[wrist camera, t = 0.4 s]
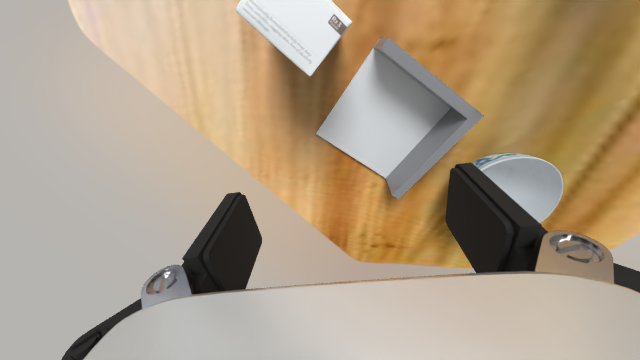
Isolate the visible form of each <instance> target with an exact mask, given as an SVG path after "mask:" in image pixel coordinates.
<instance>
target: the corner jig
mask: <svg viewBox="0 0 640 360" xmlns="http://www.w3.org/2000/svg"><path fill="white" fill-rule="evenodd" d="M483 116H484V115H482V114H481V113H480V112H479V111H477V110H476V109H475V108H474V107H473V106H471V105H470V104H469V103H468V102H466V101H465V100H464V99H463V98H462V97H460V96H459V95H458V94H457V93H455V92H454V91H453V90H452V89H451V88H449V87H448V86H447V85H446V84H444V83H443V82H442V81H441V80H439V79H438V78H437V77H436V76H435V75H433V74H432V73H431V72H430V71H428V70H427V69H426V68H425V67H424V66H422V65H421V64H420V63H419V62H417V61H416V60H415V59H414V58H413V57H411V56H410V55H409V54H408V53H406V52H405V51H404V50H403V49H402V48H400V47H399V46H398V45H397V44H395V43H394V42H393V41H392V40H391V39H389V38H379V40H378V41H377V43H376V44H375V46H374V47H373V49H372V50H371V52H370V53H369V55H368V56H367V58H366V59H365V61H364V62H363V64H362V65H361V67H360V68H359V70H358V71H357V73H356V74H355V76H354V77H353V79H352V80H351V82H350V83H349V85H348V86H347V88H346V89H345V91H344V92H343V94H342V95H341V97H340V98H339V100H338V101H337V102H336V104H335V105H334V107H333V108H332V110H331V111H330V113H329V114H328V116H327V117H326V119H325V120H324V122H323V123H322V125H321V126H320V128H319V129H318V131H317V132H316V134H317V135H319V136H320V137H322V138H323V139H325V140H326V141H328V142H330V143H331V144H333V145H334V146H336V147H337V148H339V149H341V150H342V151H344V152H345V153H347V154H348V155H350V156H351V157H353V158H355V159H356V160H358V161H359V162H361V163H362V164H364V165H366V166H367V167H369V168H370V169H372V170H373V171H375V172H377V173H378V174H380V175H381V176H383V177H384V178H386V181H387V183H388V186H389V189H390V191H391V194H392V196H394V197H395V198H397V199H400V198H401V197H402V196H403V195H404V194H405V193H406V192H407V191H408V190H409V189H410V188H411V187H412V186H413V185H414V184H415V183H416V182H417V181H418V180H419V179H420V178H421V177H422V176H423V175H424V174H425V173H426V172H427V171H428V170H429V169H430V168H431V167H432V166H433V165H434V164H435V163H436V162H437V161H439V160H440V159H441V158H442V157H443V156H444V155H445V154H446V153H447V152H448V151H449V150H450V149H451V148H452V147H453V146H454V145H455V144H456V143H457V142H458V141H459V140H460V139H461V138H462V137H463V136H464V135H465V134H466V133H467V132H468V131H469V130H470V129H471V128H472V127H473V126H474V125H475V124H476V123H477V122H478V121H479V120H480V119H481V118H482V117H483Z"/></svg>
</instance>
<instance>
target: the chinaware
mask: <svg viewBox="0 0 640 360" xmlns="http://www.w3.org/2000/svg"><path fill="white" fill-rule="evenodd" d="M472 163H473V164H474V165H475V166H476V167H477V168H478V169H480V170H481V171H482V172H483V173H484V174H485V175H486V176H487V177H489V178H490V179H491V180H492V181H493V182H494V183H495V184H496V185H497V186H499V187H500V188H501V189H502V190H503V191H504V192H505V193H506V194H508V195H509V196H510V197H511V198H512V199H513V200H514V201H515V202H517V203H518V204H519V205H520V206H521V207H522V208H523V209H524V210H525V211H527V212H528V213H529V214H530V215H531V216H532V217H533V218H534V219H536V220H537V221H538V222H539V223H541V222H542V221H544V220H545V219H546V218H547V217H548V216H549V215H550V214H551V213H552V212H553V211H554V209H555V208H556V206H557V205H558V203H559V201H560V199H561V197H562V193H563V187H564V184H563V178H562V176H561V173H560V172H559V170H558V169H557V168H556V167H555V166H554V165H552V164H551V163H549V162H548V161H546V160H543V159H540V158H537V157H534V156H530V155H525V154H518V153H499V154H493V155H489V156H485V157H482V158H480V159H478V160H476V161H474V162H472Z"/></svg>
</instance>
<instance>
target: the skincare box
mask: <svg viewBox="0 0 640 360" xmlns="http://www.w3.org/2000/svg"><path fill="white" fill-rule="evenodd" d="M236 11H237V12H238V13H239V14H240V15H241V16H242V17H243V18H244V19H245V20H246V21H247V22H248V23H249V24H251V25H252V26H253V27H254V28H255V29H256V30H257V31H258V32H259V33H260V34H261V35H262V36H264V37H265V38H266V39H267V40H268V41H269V42H270V43H271V44H273V45H274V46H275V47H276V48H277V49H278V50H279V51H280V52H282V53H283V54H284V55H285V56H286V57H287V58H288V59H290V60H291V61H292V62H293V63H294V64H295V65H296V66H298V67H299V68H300V69H301V70H302V71H303V72H305V73H306V74H307V75H308V76H311V75H312V74H313V73H314V72H315V70H316V69H317V68H318V67H319V65H320V64H321V63H322V62H323V60H324V59H325V58H326V56H327V55H328V54H329V52H330V51H331V50H332V49H333V47H334V46H335V45H336V43H337V42H338V41H339V39H340V38H341V37H342V36H343V34H344V33H345V32H346V30H347V29H348V28H349V27H350V25H351V24H352V21H351V20H350V19H349V18H348V17H347V16H346V15H345V14H344V13H343V12H342V11H341V10H340V9H339V8H338V7H337V6H336V5H335V4H334V3H333V2H332V1H331V0H241V1H240V2H239V4H238V6H237V8H236Z"/></svg>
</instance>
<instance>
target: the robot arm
mask: <svg viewBox="0 0 640 360" xmlns="http://www.w3.org/2000/svg"><path fill="white" fill-rule="evenodd" d="M446 223H447V226H448V227H449V229H450V231H451V232H452V234H453V236H454V237H455V239H456V240H457V242H458V244H459V245H460V247H461V249H462V250H463V252H464V254H465V255H466V257H467V258H468V260H469V262H470V263H471V265H472V267H473V268H474V270H475V272H476V273H470V274H452V275H436V276H422V277H408V278H407V277H406V278H393V279H392V278H391V279H377V280H364V281H363V280H362V281H349V282H334V283H321V284H307V285H294V286H281V287H269V288H256V289H246V286H247V283H248V280H249V277H250V275H251V272H252V269H253V266H254V263H255V261H256V258H257V255H258V252H259V249H260V247H261V244H262V237H261V234H260V232H259V229H258V226H257V224H256V222H255V219H254V216H253V214H252V211H251V209H250V206H249V204H248V201H247V199H246V196H245V195H242V194H241V193H240V192H237V193H229V194H227V195H226V196H225V198H224V199H223V201H222V202H221V203H220V205H219V206H218V208H217V209H216V211H215V212H214V213H213V215H212V216H211V218H210V219H209V221H208V222H207V223H206V225H205V227H204V228H203V229H202V231H201V232H200V234H199V235H198V237H197V238H196V239H195V241H194V242H193V244H192V245H191V247H190V248H189V249H188V251H187V252H186V254H185V255H184V257H183V260H184V263H183V264H182V266H180V265H171V266H167V267H165V268H163V269H161V270H159V271H158V272H156V273H155V274H153V275H152V276H151V277H150V278H149V279H148V280H147V281H146V283H145V284H144V286H143V287H142V291H141V299H139V300H137V301H136V302H134V303H133V304H131V305H129V306H128V307H126V308H125V309H123V310H121V311H120V312H118V313H117V314H115V315H114V316H112V317H110V318H109V319H107V320H106V321H104V322H102V323H101V324H99V325H97V326H96V327H94V328H93V329H91V330H89V331H88V332H87V333H85V334H84V335H82V336H81V337H80V338H78V339H77V340H76V341H75V342H74V343H73V344H72V346H71V347H70V348H69V349H68V350H67V351H66V353H65V355H64V356H63V358H62V360H640V272H639V271H636V270H633V269H630V268H627V267H624V266H621V265H618V264H615V263H613V257H612V254H611V252H610V251H609V250H608V249H607V248H606V247H605V246H604V245H602V244H601V243H599V242H598V241H596V240H594V239H592V238H590V237H588V236H585V235H582V234H579V233H574V232H569V231H552V232H549V233H548V232H547V231H546V230H545V229H544V228H543V227H542V225H541V224H540V223H539V222H538V221H537V220H536V219H534V218H533V217H532V216H531V215H530V214H529V213H528V212H527V211H525V210H524V209H523V208H522V207H521V206H520V205H519V204H518V203H517V202H515V201H514V200H513V199H512V198H511V197H510V196H509V195H508V194H506V193H505V192H504V191H503V190H502V189H501V188H500V187H499V186H497V185H496V184H495V183H494V182H493V181H492V180H491V179H490V178H489V177H487V176H486V175H485V174H484V173H483V172H482V171H481V170H480V169H478V168H477V167H476V166H475V165H474V164H473V163H464V164H457V165H455V168H452V169H451V171H450V180H449V190H448V200H447V209H446Z"/></svg>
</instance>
